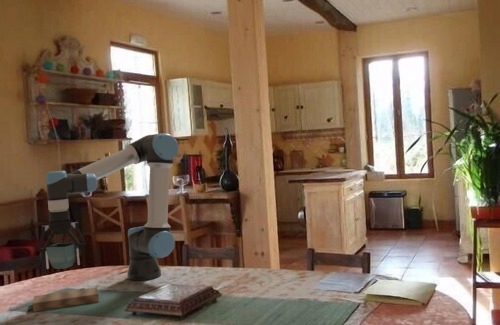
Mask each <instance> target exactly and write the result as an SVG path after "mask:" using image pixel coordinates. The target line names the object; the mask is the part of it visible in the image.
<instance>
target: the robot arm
mask: <svg viewBox="0 0 500 325" xmlns="http://www.w3.org/2000/svg"><path fill="white" fill-rule="evenodd" d="M179 150H180V148H179V143H178V141H177V139H176V138H175V136H173V135H171V134H170V133H164V132H163V133H160V132H159V133H155V134H148V135H145V136H143V137H141V138H139V139H137V140H135V141H133V142H131V143H129V144H127V145H126V146H125V148H124V149H121V150H119V151H117V152H115V153H113V154H110V155H108V156H105V157H103V158H100V159H98V160H97V161H94V162H92V163H89V164H87V165H86V166H83V167H81V168H79V169H77V170H74V171H72V172H70V173H67V171H66V170H57V171H48V172H47V173H46V176H45V180H46V181H45V184H46V192H47V193H46V194H47V205H48V211H49V212H48V217H49V218H48V220H49V224H48V225H43V224H42V225H41V228H40V229H41V234H40V237H39V241H38V243H37V247H36V251H37V252H40V253H41V254H42V260H43V261H45V263H46V264H45V265H46V269H47V270H49V268H50V265H49V264H50V261H49V259H48V255H47V250H46V247H49V246H50V243H51V242H52V241H53V238H54V237H55V235H57V236H59V235H66V234H67V235H68V237H69V238H70V239H71V240H72V241H73V243H75V244H76V245H77V248H76V249H77V254H76V260H77V266H80V265H81V262H80V257H82V255H83V250H82V248H83V247H85V246H86V245H87V242H86V241H85V238H84V235H83V234H82V232H81V230H80V227H79V222H78V221H75V222H71V219H70V216H71V215H70V210H69V207H70V206H69V196H68V195H73V194H83V193H90V192H91V193H92V192H95V191H96V190H97V187H98V180H100V179H103V178H105V177H107V176H109V175H111V174H114V173H115V172H118V171H120V170H123V169H124V168H127V167H129V166H131V165H132V164H134V165H138V164H140V163H144V162H146V165H147V166H148V167H149V181H148V182H149V185H148V189H149V190H148V202H147V203H148V204H147V205H148V206H147V207H148V208H147V222H146V223H145V224H144V225H142V226H137V227H132V228H129V229H128V231H127V238H128V240H127V241H128V249H129V251H128V252H129V265H128V268H127V275H126V276H127V279H128V280H129V281H145V280H146V281H147V280H151V279H155V278H158V277H161V276H162V270H161V267H160V265H159V262H158V260H157V259H158V258H159V259H163V258H166V257H168V256H169V255H170V254H171V253H172V252H173V251H174V248H175V245H176V242H175V241H176V240H175V236H173V234H172V233H171V228H172V227H171V225H170V224H169V222H168V218H169V216H168V214H169V213H168V212H169V195H170V194H169V192H170V191H169V190H170V172H171V171H170V169H171V168H172V167H173V165H174V159H175V158H176V156H178V153H179ZM71 227H72V228H74V229H75V230H76V232H77V236H78V238H79V240H80V241H81V243H80V241H78V239H77V238H76V237H75V236H74V235H73V233H72V232H71V231H70V228H71ZM48 229H49V230H51V233H50V235H49V237H48V238H47V241H46V242H45V244H44V246H43V247H42V245H43V243H44V242H43V241H44V238H45V233H46V232H47V231H48Z"/></svg>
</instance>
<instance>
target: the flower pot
mask: <svg viewBox="0 0 500 325" xmlns="http://www.w3.org/2000/svg"><path fill="white" fill-rule="evenodd" d="M76 248H78V246H77V245H76V244H75V243H74V242H68V243H67V242H63V243H62V242H60V243H59V242H58V243H54V244H51V245H49V246H48V247H46V251H47V255H48V262H49V264H50V265H51V266H52V267H53V269H55V270H57V269H58V270H59V269H63V270H66V269H69V268H70V267H72V266H73V265H74V263H75V262H76V260H77V249H76Z"/></svg>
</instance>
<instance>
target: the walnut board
mask: <svg viewBox="0 0 500 325" xmlns="http://www.w3.org/2000/svg"><path fill="white" fill-rule="evenodd" d="M97 302H100V296H99V290H98V288H97V287H89V288H81V289H75V290H68V291H61V292H55V293H47V294H41V295H34V296H33V301H32V311H33V312H39V311H40V312H41V311H44V310H51V309H59V308H66V307H72V306H77V305H78V306H79V305H83V304H84V305H85V304H86V305H87V304H93V303H97Z"/></svg>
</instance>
